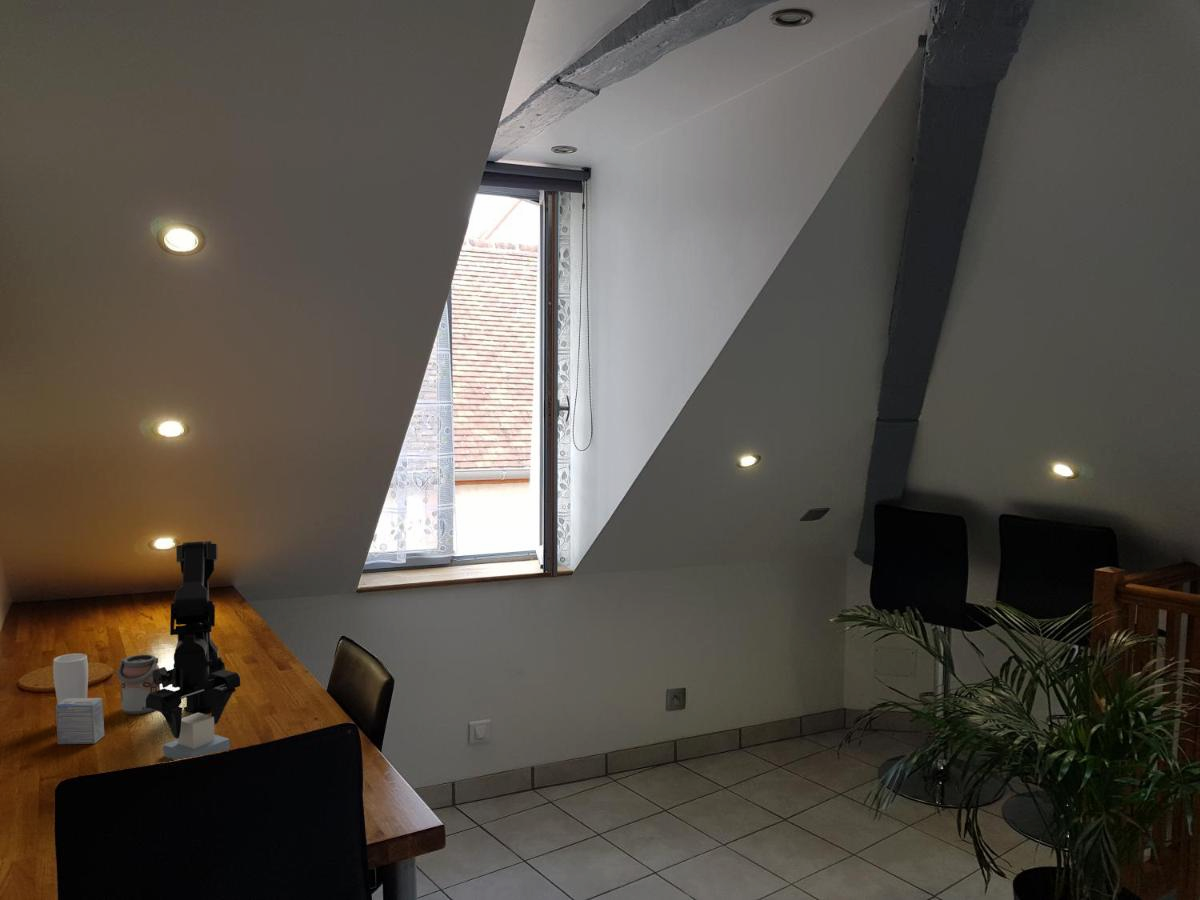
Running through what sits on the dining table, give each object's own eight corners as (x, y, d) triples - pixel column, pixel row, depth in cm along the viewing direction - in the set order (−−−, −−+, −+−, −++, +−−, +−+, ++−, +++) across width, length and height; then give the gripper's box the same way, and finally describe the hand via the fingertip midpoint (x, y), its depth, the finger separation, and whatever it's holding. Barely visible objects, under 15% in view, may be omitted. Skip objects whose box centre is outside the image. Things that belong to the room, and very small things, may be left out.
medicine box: (105, 736, 211) (103, 697, 210) (95, 744, 207) (93, 704, 206) (67, 737, 211) (65, 697, 210) (57, 745, 206) (54, 704, 206)
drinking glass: (86, 727, 216) (83, 660, 215) (52, 730, 214) (49, 663, 213) (93, 716, 223) (90, 652, 221) (60, 719, 221) (56, 654, 219)
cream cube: (198, 735, 205) (198, 712, 204) (214, 740, 202) (213, 716, 202) (177, 743, 201) (176, 719, 200) (193, 748, 198) (192, 724, 198)
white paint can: (151, 716, 223) (149, 664, 222) (113, 717, 222) (111, 665, 221) (166, 702, 232) (164, 652, 231) (129, 703, 231) (127, 653, 230)
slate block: (201, 744, 208) (201, 730, 208) (229, 752, 204) (229, 738, 203) (163, 758, 200) (163, 744, 200) (192, 768, 196) (191, 753, 196)
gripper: (206, 639, 212) (208, 709, 214) (126, 662, 196) (130, 737, 198) (241, 647, 207) (243, 719, 208) (162, 671, 191) (165, 749, 192)
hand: (196, 730), depth 202 cm, fingers open, 9 cm apart
